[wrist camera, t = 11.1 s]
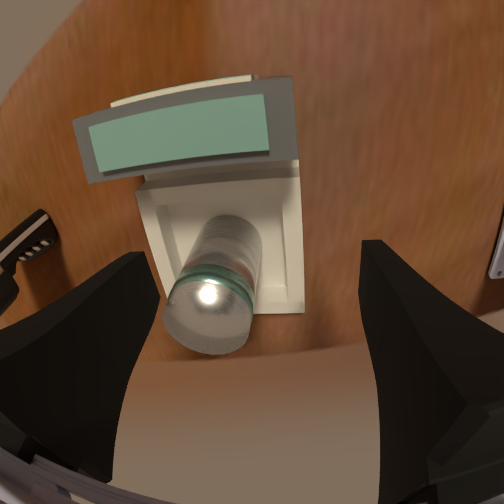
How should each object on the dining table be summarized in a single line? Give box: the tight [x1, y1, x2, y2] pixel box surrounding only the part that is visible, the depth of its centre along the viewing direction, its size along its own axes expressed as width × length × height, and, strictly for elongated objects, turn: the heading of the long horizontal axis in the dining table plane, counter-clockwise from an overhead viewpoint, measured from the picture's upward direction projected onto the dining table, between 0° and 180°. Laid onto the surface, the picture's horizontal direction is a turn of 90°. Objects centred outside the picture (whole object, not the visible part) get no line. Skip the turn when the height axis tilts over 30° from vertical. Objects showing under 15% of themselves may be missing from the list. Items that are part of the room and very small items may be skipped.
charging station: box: [72, 74, 305, 314], centre depth 16 cm, size 9×14×6 cm, turn 6°
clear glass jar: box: [162, 215, 262, 355], centre depth 17 cm, size 4×4×7 cm
